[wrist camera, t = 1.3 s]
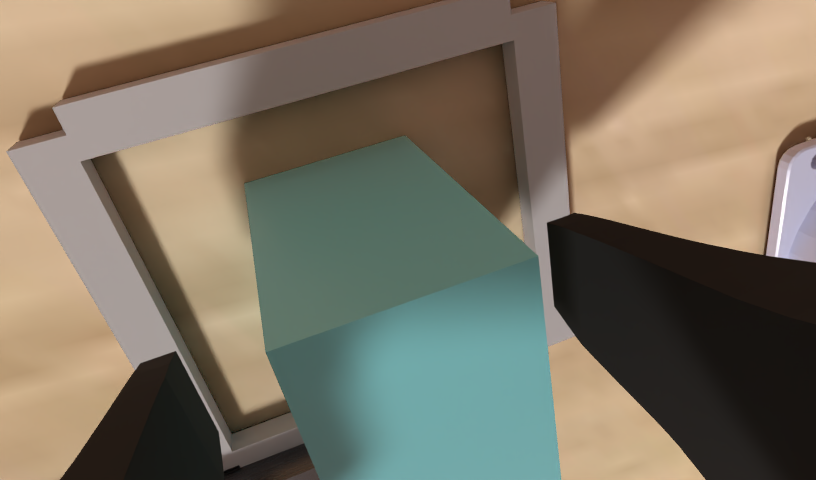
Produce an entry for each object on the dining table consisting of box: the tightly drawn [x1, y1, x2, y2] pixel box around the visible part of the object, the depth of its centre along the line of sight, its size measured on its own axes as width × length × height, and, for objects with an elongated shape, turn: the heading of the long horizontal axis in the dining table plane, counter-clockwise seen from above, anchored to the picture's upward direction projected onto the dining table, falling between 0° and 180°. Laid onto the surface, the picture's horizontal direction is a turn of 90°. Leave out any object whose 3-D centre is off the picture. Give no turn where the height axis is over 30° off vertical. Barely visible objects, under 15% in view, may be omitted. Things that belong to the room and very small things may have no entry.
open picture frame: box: [6, 0, 575, 471], centre depth 13 cm, size 11×10×1 cm
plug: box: [244, 135, 561, 480], centre depth 11 cm, size 4×5×6 cm
